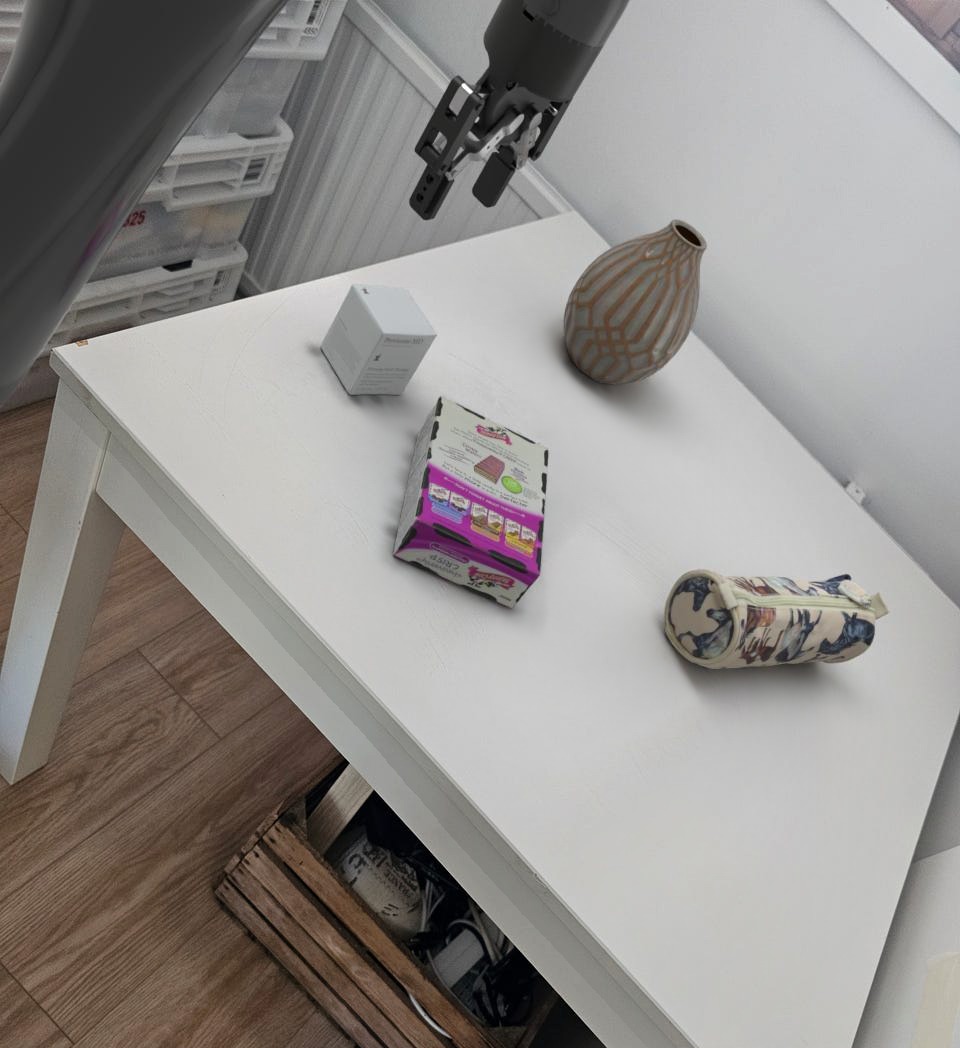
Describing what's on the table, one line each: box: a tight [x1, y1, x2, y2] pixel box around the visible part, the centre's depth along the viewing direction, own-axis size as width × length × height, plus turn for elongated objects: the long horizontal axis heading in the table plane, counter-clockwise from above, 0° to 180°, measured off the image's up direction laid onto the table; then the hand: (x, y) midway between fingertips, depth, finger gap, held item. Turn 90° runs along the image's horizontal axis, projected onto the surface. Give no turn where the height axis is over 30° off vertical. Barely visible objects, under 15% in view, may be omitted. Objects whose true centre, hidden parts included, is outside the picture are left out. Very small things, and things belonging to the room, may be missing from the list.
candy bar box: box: [392, 395, 550, 609], centre depth 87 cm, size 11×5×16 cm
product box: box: [320, 283, 438, 396], centre depth 91 cm, size 6×6×7 cm
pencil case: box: [663, 568, 891, 670], centre depth 95 cm, size 22×8×10 cm, turn 112°
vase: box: [562, 218, 708, 385], centre depth 110 cm, size 13×13×18 cm
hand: (451, 206), depth 81 cm, fingers open, 8 cm apart
